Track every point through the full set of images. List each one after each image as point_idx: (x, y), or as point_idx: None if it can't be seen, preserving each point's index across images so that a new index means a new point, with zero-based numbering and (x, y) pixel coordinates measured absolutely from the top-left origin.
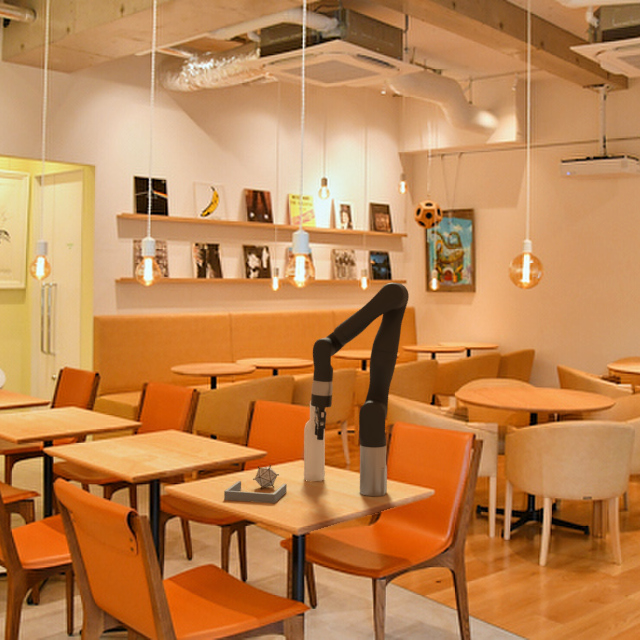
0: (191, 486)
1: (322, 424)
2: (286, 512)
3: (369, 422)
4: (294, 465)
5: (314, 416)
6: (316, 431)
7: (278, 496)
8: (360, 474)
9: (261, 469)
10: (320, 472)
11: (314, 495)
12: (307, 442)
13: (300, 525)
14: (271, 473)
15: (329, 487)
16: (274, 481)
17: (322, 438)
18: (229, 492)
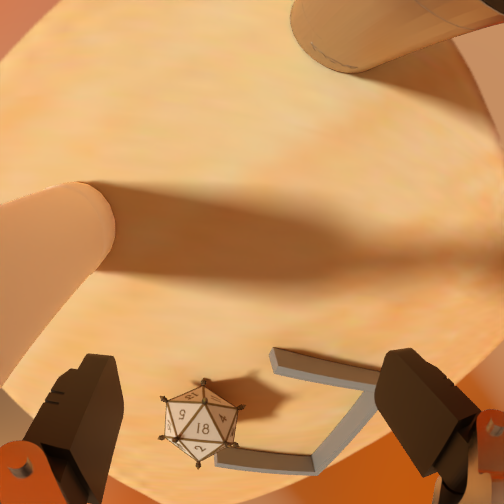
0: (183, 499)
1: None
2: (458, 339)
3: None
4: None
5: None
6: (113, 427)
7: (358, 372)
8: (387, 54)
9: (208, 455)
10: (94, 210)
11: (336, 256)
12: (22, 357)
13: None
14: (223, 425)
15: (217, 174)
16: (205, 392)
17: (411, 359)
18: (323, 467)
